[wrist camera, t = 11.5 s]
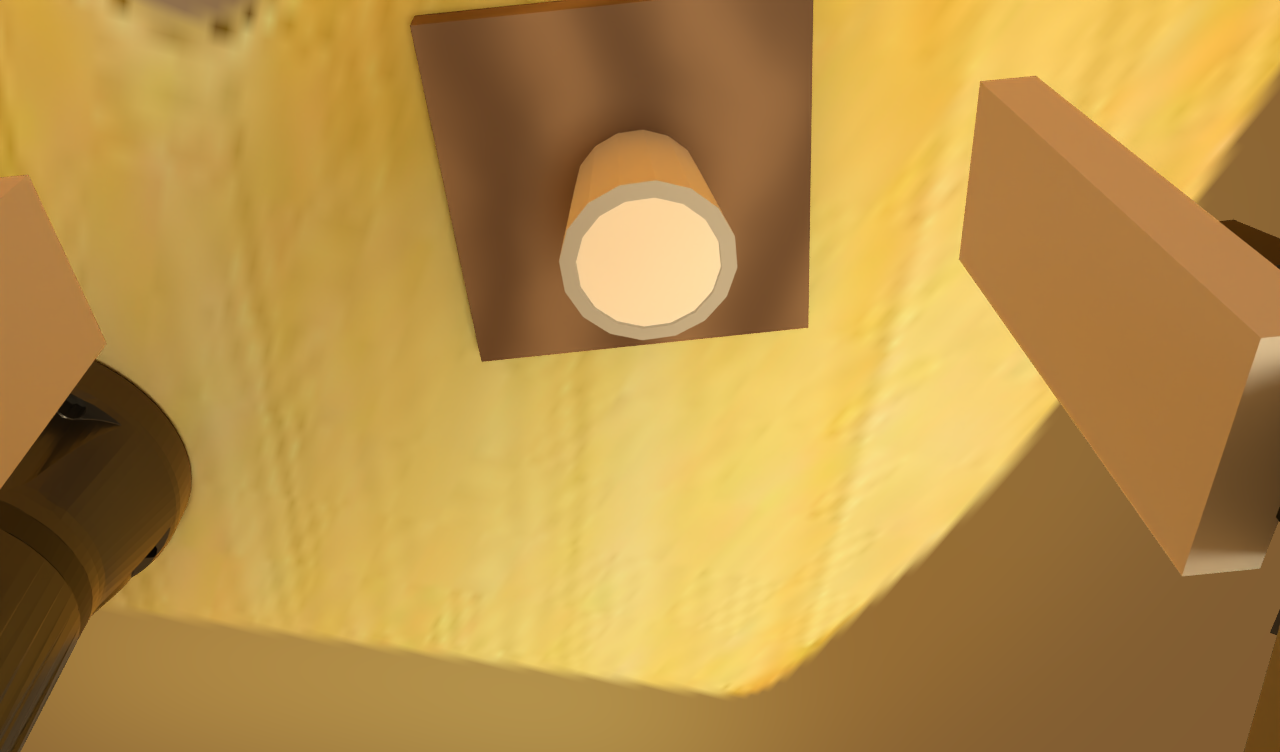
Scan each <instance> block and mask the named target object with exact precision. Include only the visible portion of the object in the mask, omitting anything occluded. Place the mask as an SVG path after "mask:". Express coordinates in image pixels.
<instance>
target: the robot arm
mask: <svg viewBox="0 0 1280 752" xmlns="http://www.w3.org/2000/svg"><path fill="white" fill-rule="evenodd" d="M959 260H960V261H961V263H962V264H963V266H964V267H965V268H966V270H967V271H968V273H969V274H970V276H971V277H972V278H973V280H974V281H975V283H976V284H977V285H978V287H979V288H980V290H981V291H982V293H983V294H984V295H985V297H986V298H987V300H988V301H989V303H990V304H991V305H992V307H993V308H994V310H995V311H996V313H997V314H998V315H999V317H1000V318H1001V320H1002V321H1003V322H1004V324H1005V325H1006V327H1007V328H1008V330H1009V331H1010V332H1011V334H1012V335H1013V337H1014V338H1015V340H1016V341H1017V342H1018V344H1019V345H1020V347H1021V348H1022V350H1023V351H1024V352H1025V354H1026V355H1027V357H1028V358H1029V359H1030V361H1031V362H1032V364H1033V365H1034V367H1035V368H1036V369H1037V371H1038V372H1039V374H1040V375H1041V377H1042V378H1043V379H1044V381H1045V382H1046V384H1047V385H1048V387H1049V388H1050V389H1051V391H1052V392H1053V394H1054V395H1055V396H1056V398H1057V399H1058V401H1059V402H1060V404H1061V405H1062V406H1063V408H1064V409H1065V411H1066V412H1067V414H1068V415H1069V416H1070V418H1071V419H1072V421H1073V422H1074V423H1075V425H1076V426H1077V427H1078V429H1079V431H1080V432H1081V433H1082V435H1083V436H1084V438H1085V439H1086V441H1087V442H1088V443H1089V445H1090V446H1091V448H1092V449H1093V451H1094V452H1095V453H1096V455H1097V456H1098V458H1099V459H1100V460H1101V462H1102V463H1103V465H1104V466H1105V468H1106V469H1107V470H1108V472H1109V473H1110V475H1111V476H1112V478H1113V479H1114V480H1115V482H1116V483H1117V485H1118V486H1119V488H1120V489H1121V490H1122V492H1123V493H1124V495H1125V496H1126V497H1127V499H1128V500H1129V502H1130V503H1131V505H1132V506H1133V507H1134V509H1135V510H1136V512H1137V513H1138V515H1139V516H1140V517H1141V519H1142V520H1143V521H1144V523H1145V525H1146V526H1147V527H1148V529H1149V530H1150V532H1151V533H1152V534H1153V536H1154V537H1155V539H1156V540H1157V542H1158V543H1159V544H1160V546H1161V547H1162V549H1163V550H1164V552H1165V553H1166V554H1167V556H1168V557H1169V559H1170V560H1171V561H1172V563H1173V564H1174V566H1175V567H1176V569H1177V570H1178V571H1179V573H1180V574H1181V576H1188V575H1199V574H1208V573H1219V572H1229V571H1239V570H1249V569H1258V568H1260V567H1261V564H1262V561H1263V559H1264V557H1265V554H1266V552H1267V549H1268V547H1269V544H1270V541H1271V539H1272V536H1273V534H1274V531H1275V529H1276V526H1277V524H1278V521H1279V522H1280V239H1279V238H1277V237H1275V236H1272V235H1270V234H1267V233H1265V232H1262V231H1260V230H1257V229H1255V228H1253V227H1250V226H1248V225H1245V224H1243V223H1240V222H1237V221H1236V220H1227V221H1218V220H1217V219H1215V218H1214V217H1213V216H1212V215H1210V214H1209V213H1208V212H1206V211H1205V210H1204V209H1203V208H1201V207H1200V206H1199V205H1198V204H1196V203H1195V202H1194V201H1193V200H1191V199H1190V198H1189V197H1188V196H1186V195H1185V194H1184V193H1183V192H1181V191H1180V190H1179V189H1178V188H1176V187H1175V186H1174V185H1173V184H1171V183H1170V182H1169V181H1167V180H1166V179H1165V178H1164V177H1162V176H1161V175H1160V174H1159V173H1157V172H1156V171H1155V170H1154V169H1152V168H1151V167H1150V166H1149V165H1147V164H1146V163H1145V162H1144V161H1142V160H1141V159H1140V158H1139V157H1137V156H1136V155H1135V154H1133V153H1132V152H1131V151H1130V150H1128V149H1127V148H1126V147H1125V146H1123V145H1122V144H1121V143H1120V142H1118V141H1117V140H1116V139H1115V138H1113V137H1112V136H1111V135H1110V134H1108V133H1107V132H1106V131H1104V130H1103V129H1102V128H1101V127H1099V126H1098V125H1097V124H1096V123H1094V122H1093V121H1092V120H1091V119H1089V118H1088V117H1087V116H1086V115H1084V114H1083V113H1082V112H1081V111H1079V110H1078V109H1077V108H1076V107H1074V106H1073V105H1072V104H1070V103H1069V102H1068V101H1067V100H1065V99H1064V98H1063V97H1062V96H1060V95H1059V94H1058V93H1057V92H1055V91H1054V90H1053V89H1052V88H1050V87H1049V86H1048V85H1047V84H1045V83H1044V82H1043V81H1041V80H1040V79H1039V78H1038V77H1036V76H1030V77H1019V78H1009V79H999V80H989V81H980V88H979V97H978V105H977V113H976V122H975V130H974V139H973V147H972V156H971V164H970V172H969V181H968V189H967V198H966V206H965V215H964V223H963V231H962V240H961V248H960V257H959ZM105 345H106V341H105V339H104V337H103V335H102V333H101V331H100V329H99V326H98V324H97V322H96V320H95V318H94V316H93V313H92V311H91V309H90V307H89V305H88V303H87V300H86V298H85V296H84V294H83V292H82V290H81V288H80V285H79V283H78V281H77V279H76V277H75V275H74V272H73V270H72V268H71V266H70V264H69V262H68V259H67V257H66V255H65V253H64V251H63V249H62V247H61V244H60V242H59V240H58V238H57V236H56V234H55V231H54V229H53V227H52V225H51V223H50V221H49V218H48V216H47V214H46V212H45V210H44V208H43V205H42V203H41V201H40V199H39V197H38V195H37V193H36V190H35V188H34V186H33V184H32V182H31V180H30V177H29V175H22V176H11V177H1V178H0V752H20V751H21V750H22V747H23V746H24V744H25V742H26V740H27V738H28V736H29V734H30V732H31V730H32V728H33V726H34V724H35V722H36V720H37V719H38V716H39V715H40V713H41V711H42V709H43V707H44V705H45V703H46V701H47V699H48V697H49V695H50V693H51V691H52V689H53V687H54V685H55V684H56V682H57V680H58V678H59V675H60V674H61V672H62V670H63V668H64V666H65V664H66V662H67V660H68V658H69V657H70V655H71V653H72V651H73V649H74V647H75V645H76V642H77V640H78V639H79V637H80V635H81V633H82V631H83V629H84V628H85V626H86V624H87V622H88V620H89V618H90V616H91V615H93V614H94V613H95V612H96V611H97V610H98V609H100V608H101V607H102V606H103V605H104V604H105V603H106V602H108V601H109V600H110V599H111V598H112V597H113V596H114V595H115V594H116V593H118V592H119V591H120V590H121V589H122V588H123V587H124V586H125V585H126V584H127V582H128V581H129V580H130V579H131V578H132V577H133V576H135V575H136V574H138V573H139V572H141V571H142V570H143V569H145V568H146V567H147V566H148V565H149V564H150V563H152V562H153V561H154V560H155V559H156V558H157V557H158V556H159V555H160V553H161V552H162V551H163V550H164V548H165V547H166V546H167V544H168V543H169V541H170V539H171V538H172V536H173V534H174V532H175V530H176V528H177V526H178V524H179V522H180V519H181V517H182V515H183V513H184V511H185V509H186V507H187V504H188V501H189V497H190V491H191V470H190V465H189V460H188V457H187V453H186V451H185V448H184V446H183V443H182V441H181V439H180V437H179V435H178V434H177V432H176V430H175V429H174V427H173V426H172V424H171V423H170V421H169V420H168V419H167V417H166V416H165V415H164V414H163V412H162V411H161V410H160V409H159V408H158V407H157V406H156V405H155V404H154V403H153V402H152V401H151V400H150V399H149V398H148V397H147V396H146V395H145V394H144V393H143V392H141V391H140V390H139V389H138V388H137V387H135V386H134V385H133V384H131V383H130V382H129V381H127V380H126V379H124V378H123V377H121V376H120V375H118V374H117V373H115V372H113V371H112V370H110V369H108V368H107V367H105V366H103V365H101V364H99V363H97V362H95V361H94V360H95V359H96V357H97V356H98V355H99V353H100V352H101V350H102V349H103V348H104V346H105ZM1270 633H1272V634H1275V635H1277V637H1276V641H1275V644H1274V648H1273V651H1272V654H1271V658H1270V661H1269V665H1268V669H1267V672H1266V676H1265V679H1264V683H1263V686H1262V690H1261V693H1260V697H1259V700H1258V704H1257V707H1256V711H1255V714H1254V718H1253V721H1252V725H1251V728H1250V732H1249V735H1248V739H1247V742H1246V746H1245V749H1244V752H1280V610H1279V613H1278V615H1277V618H1276V620H1275V622H1274V625H1273V627H1272V629H1271V632H1270Z"/></svg>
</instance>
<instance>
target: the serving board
mask: <svg viewBox="0 0 1280 752" xmlns="http://www.w3.org/2000/svg"><path fill="white" fill-rule="evenodd" d="M410 27H411V32H412V37H413V41H414V46H415V51H416V56H417V60H418V65H419V70H420V74H421V79H422V84H423V88H424V93H425V98H426V103H427V107H428V112H429V117H430V121H431V126H432V131H433V135H434V140H435V145H436V150H437V154H438V159H439V164H440V168H441V173H442V178H443V182H444V187H445V192H446V196H447V201H448V206H449V211H450V215H451V220H452V225H453V229H454V234H455V239H456V243H457V248H458V253H459V258H460V262H461V267H462V272H463V276H464V281H465V286H466V290H467V295H468V300H469V305H470V309H471V314H472V319H473V323H474V328H475V333H476V337H477V342H478V347H479V352H480V356H481V361H482V362H483V361H492V360H502V359H511V358H521V357H531V356H540V355H550V354H559V353H569V352H579V351H588V350H598V349H607V348H617V347H626V346H636V345H646V344H655V343H665V342H674V341H684V340H694V339H703V338H713V337H722V336H732V335H742V334H751V333H761V332H770V331H780V330H790V329H799V328H808V309H809V242H810V176H811V109H812V42H813V0H563V1H553V2H544V3H534V4H524V5H515V6H505V7H495V8H486V9H476V10H466V11H457V12H447V13H437V14H428V15H418V16H415V17H414V19H413V21H412V23H411V25H410ZM637 130H647V131H651V132H655V133H659V134H663V135H667V136H669V137H670V138H672V139H673V140H674V141H676V142H677V143H678V144H680V145H681V146H683V147H684V148H685V149H687V150H688V152H689V154H690V155H691V157H692V159H693V161H694V162H695V164H696V166H697V167H698V169H699V171H700V173H701V175H702V177H703V178H704V180H705V182H706V184H707V186H708V188H709V189H710V191H711V193H712V195H713V197H714V199H715V200H716V202H717V204H718V206H719V208H720V210H721V212H722V213H723V215H724V217H725V219H726V221H727V223H728V224H729V226H730V228H731V230H732V232H733V234H734V235H735V243H736V256H737V270H736V273H735V275H734V278H733V281H732V284H731V286H730V289H729V292H728V295H727V297H726V298H725V299H724V300H723V301H722V302H721V304H720V305H719V306H718V307H717V308H716V309H715V310H714V311H713V312H712V313H711V314H710V316H709V317H708V318H707V319H706V320H705V321H703V322H701V323H699V324H697V325H695V326H693V327H691V328H689V329H687V330H686V331H684V332H682V333H680V334H678V335H676V336H669V337H662V338H655V339H648V340H639V339H634V338H629V337H624V336H619V335H614V334H610V333H608V332H607V331H605V330H603V329H602V328H600V327H598V326H597V325H595V324H594V323H592V322H590V321H589V320H587V319H586V318H584V317H583V316H582V315H581V313H580V312H579V311H578V309H577V308H576V306H575V305H574V304H573V302H572V301H571V299H570V298H569V297H568V295H567V294H566V293H565V289H564V284H563V279H562V274H561V269H560V264H559V259H560V254H561V249H562V245H563V240H564V235H565V231H566V226H567V221H568V217H569V212H570V207H571V203H572V198H573V193H574V189H575V185H576V181H577V177H578V173H579V169H580V165H581V164H582V163H583V161H584V160H585V159H586V157H587V156H588V155H589V154H590V152H591V151H592V150H593V148H594V147H595V146H596V145H598V144H600V143H601V142H603V141H605V140H607V139H608V138H610V137H612V136H614V135H615V134H617V133H623V132H630V131H637Z"/></svg>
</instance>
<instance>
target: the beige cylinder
mask: <svg viewBox="0 0 1280 752" xmlns="http://www.w3.org/2000/svg"><path fill="white" fill-rule="evenodd" d="M559 264H560V269H561V274H562V279H563V284H564V289H565V293H566V294H567V295H568V297H569V298H570V299H571V301H572V302H573V304H574V305H575V306H576V308H577V309H578V311H579V312H580V313H581V315H582V316H583V317H584V318H586V319H587V320H589V321H590V322H592V323H594V324H595V325H597V326H598V327H600V328H602V329H603V330H605V331H607V332H608V333H610V334H614V335H619V336H624V337H629V338H634V339H639V340H648V339H655V338H662V337H669V336H676V335H678V334H680V333H682V332H684V331H686V330H687V329H689V328H691V327H693V326H695V325H697V324H699V323H701V322H703V321H705V320H706V319H707V318H708V317H709V316H710V314H711V313H712V312H713V311H714V310H715V309H716V308H717V307H718V306H719V305H720V304H721V302H722V301H723V300H724V299H725V298H726V297H727V295H728V292H729V289H730V286H731V284H732V281H733V278H734V275H735V273H736V270H737V256H736V243H735V235H734V234H733V232H732V230H731V228H730V226H729V224H728V223H727V221H726V219H725V217H724V215H723V213H722V212H721V210H720V208H719V206H718V204H717V202H716V200H715V199H714V197H713V195H712V193H711V191H710V189H709V188H708V186H707V184H706V182H705V180H704V178H703V177H702V175H701V173H700V171H699V169H698V167H697V166H696V164H695V162H694V161H693V159H692V157H691V155H690V154H689V152H688V150H687V149H685V148H684V147H683V146H681V145H680V144H678V143H677V142H676V141H674V140H673V139H672V138H670V137H669V136H667V135H663V134H659V133H655V132H651V131H647V130H637V131H630V132H623V133H617V134H615V135H614V136H612V137H610V138H608V139H607V140H605V141H603V142H601V143H600V144H598V145H596V146H595V147H594V148H593V150H592V151H591V152H590V154H589V155H588V156H587V157H586V159H585V160H584V161H583V163H582V164H581V165H580V169H579V173H578V177H577V181H576V185H575V189H574V193H573V198H572V203H571V207H570V212H569V217H568V221H567V226H566V231H565V235H564V240H563V245H562V249H561V254H560V259H559Z"/></svg>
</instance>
